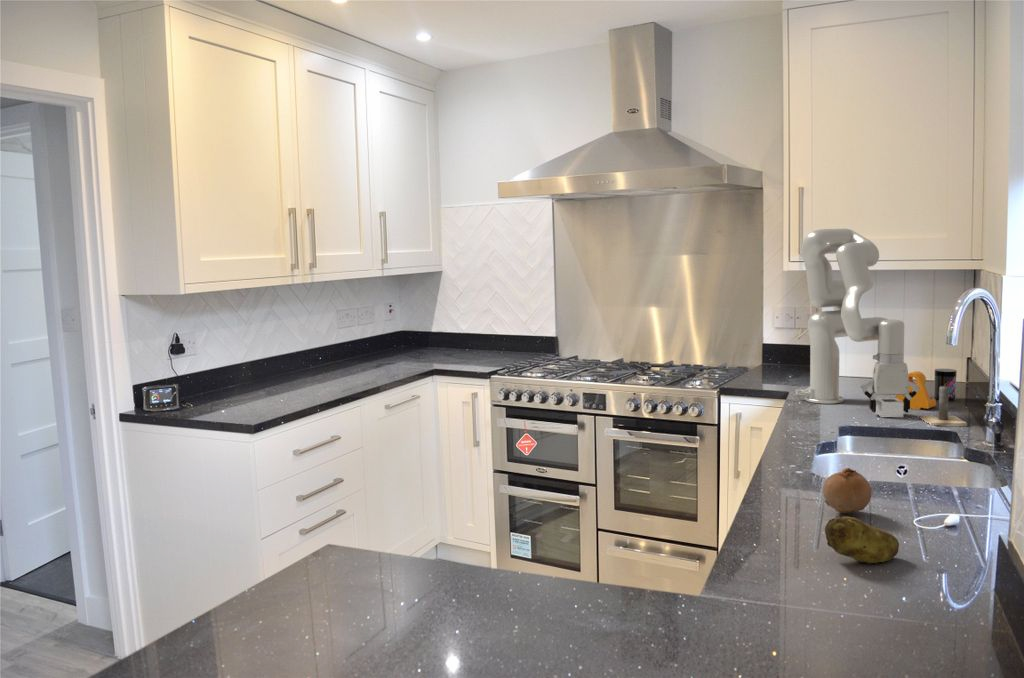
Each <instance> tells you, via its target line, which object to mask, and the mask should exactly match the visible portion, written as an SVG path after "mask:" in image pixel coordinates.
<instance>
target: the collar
mask: <svg viewBox="0 0 1024 678" xmlns="http://www.w3.org/2000/svg"><path fill="white" fill-rule="evenodd" d="M875 400H876V412H875V414H876V415H877V414H878V415H879V416H880V417H879V416H878V415H877V416H878V417H879V418H881V417H903V418H904V411H903V406H904V403H903V402H902V401H900V400H899V399H897V398H895V397H894V398H893V397H892V398H890V397H889V398H886V397H885V398H878V397H876V398H875Z"/></svg>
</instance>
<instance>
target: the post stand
mask: <svg viewBox="0 0 1024 678" xmlns="http://www.w3.org/2000/svg"><path fill="white" fill-rule="evenodd" d="M948 397H949V387H946V386H940V387H939V401H938V415H919V416H920V417H919V419H920V418H921V419H922V421H923V420H924V421H925V422H924V421H923V422H924V423H926V422H927V423H929V424H930V425H949V426H948V427H968V422H966V421H964V420H963V419H961V418H959V417H958V416H956V415H949V401H948ZM921 419H920V420H921ZM927 423H926V424H927ZM929 424H928V425H929ZM930 425H929V426H930ZM951 425H952V426H951Z"/></svg>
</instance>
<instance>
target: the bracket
mask: <svg viewBox="0 0 1024 678" xmlns="http://www.w3.org/2000/svg"><path fill="white" fill-rule="evenodd" d="M908 377H909V381H910V382H912V383H914V384H916V385H918V386H920V388H919V390H918V391H917V393H916V395H915V396H914V397H913V398H912V399H911V400H910V408H914V409H913V410H917V409H921V410H923V409H931V408H934V407H936V405H937V400H936V399H934V398H930V396H929V392H928V390H927V387H926V381H927V379H926V375H925V374H924V373H923V372H921V371H917V370H916V371H912V372H908ZM914 379H915V381H916V382H914ZM912 389H913V387H911V386H909V392H908V394H909V393H910V392H911V391H912ZM894 398H897V399H899V400H900V401H902V402H903V399H904V398H905V397H904V396H903V395H895V397H894ZM922 408H923V409H922Z"/></svg>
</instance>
